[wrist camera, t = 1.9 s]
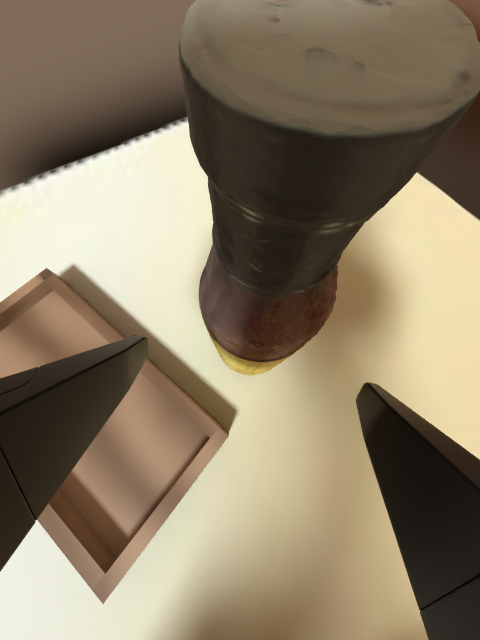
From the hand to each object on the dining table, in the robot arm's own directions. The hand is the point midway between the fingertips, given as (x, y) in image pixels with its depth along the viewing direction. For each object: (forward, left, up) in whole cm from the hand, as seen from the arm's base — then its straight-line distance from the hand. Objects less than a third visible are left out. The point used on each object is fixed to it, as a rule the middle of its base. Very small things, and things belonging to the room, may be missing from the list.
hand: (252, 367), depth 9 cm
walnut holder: (-10, +10, -12) cm, 18 cm away
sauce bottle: (+3, +2, -12) cm, 13 cm away
